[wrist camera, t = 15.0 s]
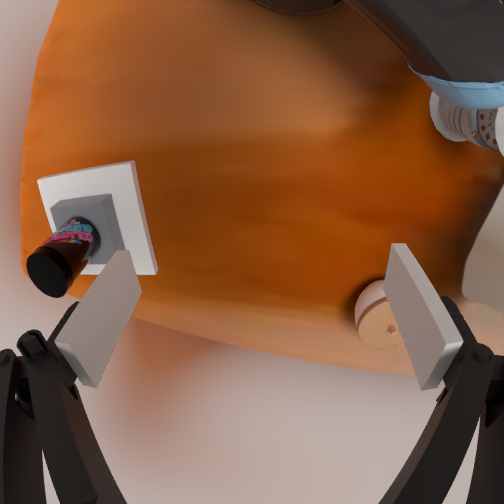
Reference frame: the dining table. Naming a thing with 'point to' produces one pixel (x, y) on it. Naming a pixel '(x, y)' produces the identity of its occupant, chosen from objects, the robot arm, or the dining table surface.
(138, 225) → the build base
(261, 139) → the dining table surface
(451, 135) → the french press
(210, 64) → the dining table surface
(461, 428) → the robot arm
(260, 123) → the dining table surface
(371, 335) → the lidded jar
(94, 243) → the supplement container
